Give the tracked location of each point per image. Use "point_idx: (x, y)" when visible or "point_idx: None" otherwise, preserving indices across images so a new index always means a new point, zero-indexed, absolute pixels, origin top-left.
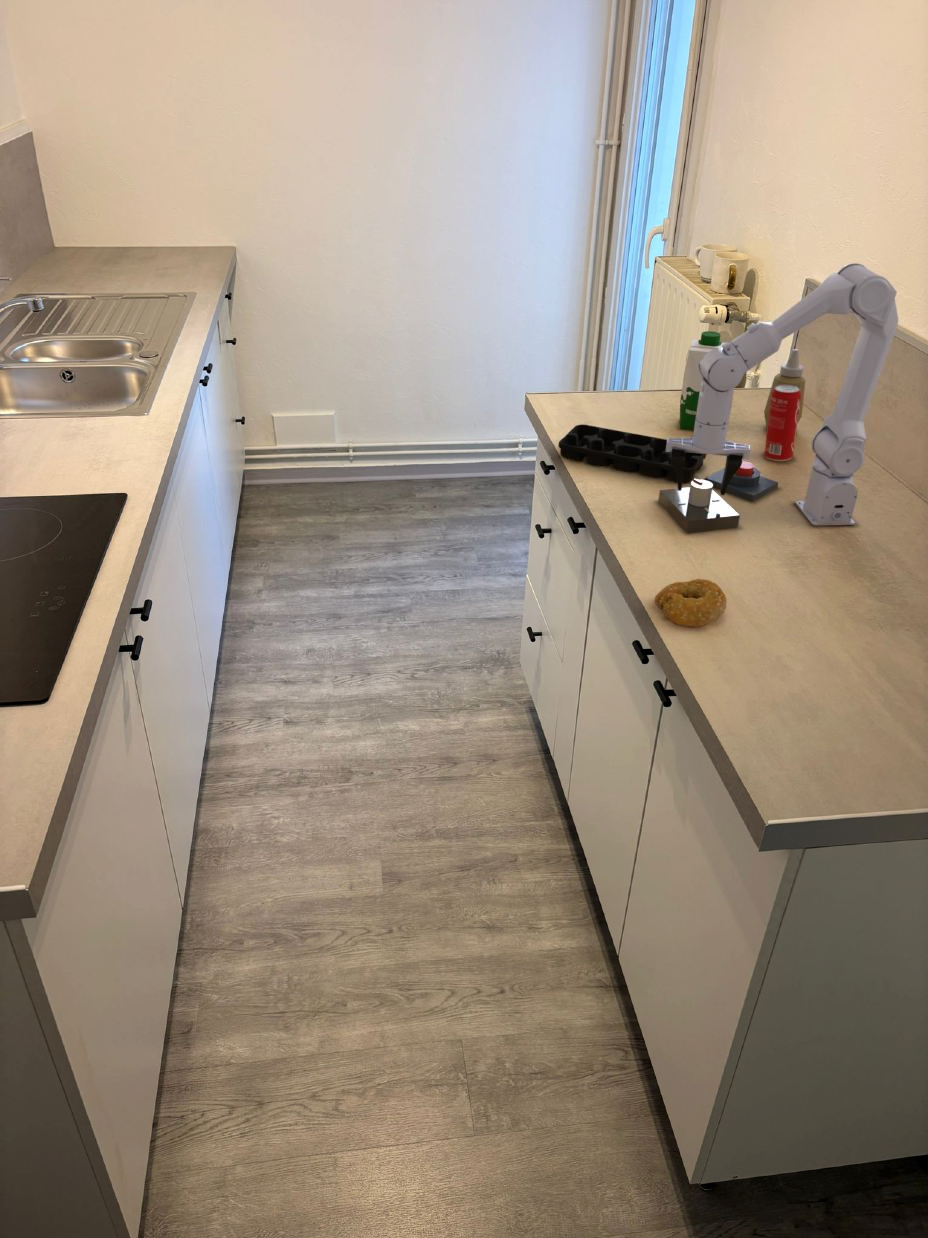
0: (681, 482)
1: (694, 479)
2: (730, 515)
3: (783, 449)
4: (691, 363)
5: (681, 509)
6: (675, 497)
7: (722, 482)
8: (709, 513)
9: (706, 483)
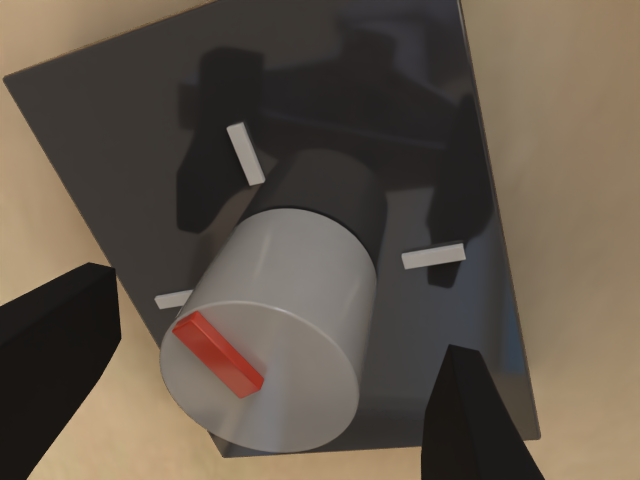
0: (69, 411)
1: (182, 338)
2: None
3: None
4: None
5: None
6: (133, 207)
7: (443, 448)
8: None
9: (300, 377)
